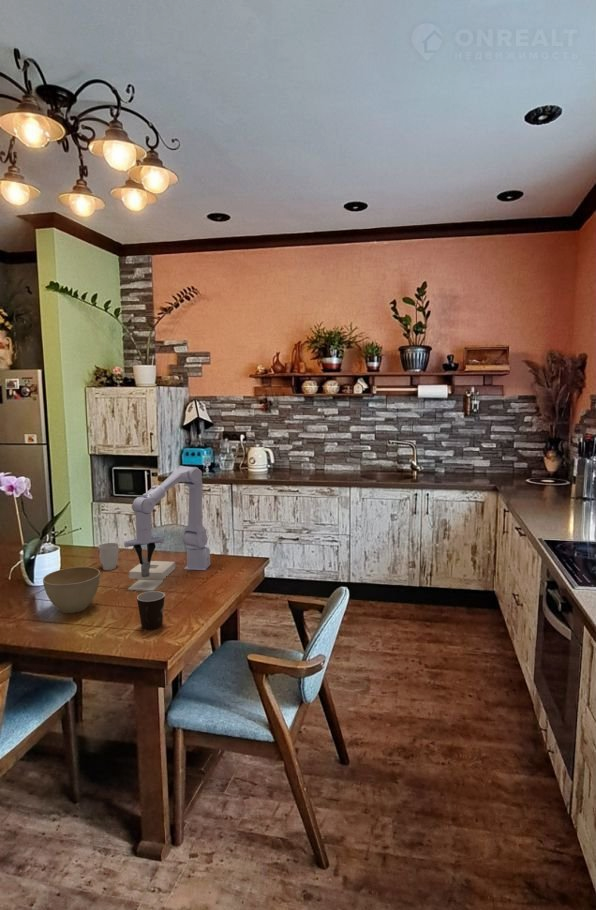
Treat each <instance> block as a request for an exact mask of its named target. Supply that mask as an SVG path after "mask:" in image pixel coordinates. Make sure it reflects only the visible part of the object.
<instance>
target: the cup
mask: <svg viewBox="0 0 596 910" xmlns="http://www.w3.org/2000/svg"><path fill="white" fill-rule="evenodd" d="M97 547H98V549H97V550H98V556H99V560H100V565H101V568H102V570H103V571H112V569H113V570H115V569H116V568H117V564H118V558H119V543H117V542H106V543H101V544H99V545H98V546H97Z"/></svg>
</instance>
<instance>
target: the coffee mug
mask: <svg viewBox="0 0 596 910" xmlns="http://www.w3.org/2000/svg"><path fill="white" fill-rule="evenodd" d="M165 595H166V594H165V593H164V592H163V591H157V590H154V591H144V592H142V593H140V594H138V595H137V597H136V601H137V608H138V613H139V618H140V619H139V620H140V625H141V629H142V630H144V631H156V630H159V629H161V628H162V627H161V626H163V619H164V608H165V597H166V596H165ZM158 628H159V629H158ZM155 629H156V630H155Z"/></svg>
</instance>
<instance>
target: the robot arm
mask: <svg viewBox="0 0 596 910" xmlns="http://www.w3.org/2000/svg"><path fill="white" fill-rule="evenodd" d="M178 483H184V484H185V485H186V486H187V487H188V491H189V492H188V524H187V525H186V526H185V527H184V528H183V534H182V537H181V538H182V541H181V542H182V543H183V544H184V546H185V547H186V565H185V567H184V568H183V570H187V571H192V570H193V571H206V570H207V569H208V568H209V567H210V566H211V565H212V564H211V552H210V551H211V549H210V547H207V543H208V534H207V529H206V528H205V527H204V525H203V524H202V522H203V521H202V520H203V519H202V517H203V514H202V513H203V487H204V486H203V471H202V470H201V469H199V467H197V466H184V465H178V466H177V467H176V468H174V469H173V471H172V473H171V474H170V475H169V476H168V477H167V478H166V479H165V480H163V482H161V483H160V485H158V484H156V485H152V486H151V487H150V489H149V490H147V492H145V493H143V494H142V496H138V497H136V498H135V499H134V500H133V502H132V504H131V509H132V510H133V512H134V516H135V533H136V534H135V535H136V536H135V537H136V538H135V539H130V540H126V541H125V540H124V542H123V544H124V548H129V547H133V548H134V550H135V553H136V555H137V556H138V561H139V564H142V557H143V548H142V546H145V545H146V549H147V556H146V557H147V558H148V560H149V561H150V562H151V561H152V556H153V554H154V551H155V549H156V544H164V543H165V538H164V537H163V536H161V537H160V536H156V537H153V533H152V531H153V529H152V528H153V527H152V512H153V511H154V509H155V506H156V505H157V504H158V503H159V502H160V501H161V500H162V499H164V498H165V497H166V492H168V491H169V490H170V489H172V488H173V487H174V486H176V485H177V484H178Z"/></svg>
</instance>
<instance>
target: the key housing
mask: <svg viewBox="0 0 596 910" xmlns="http://www.w3.org/2000/svg"><path fill="white" fill-rule="evenodd" d="M175 569H176V562H175V561H163V560H161V561H160V560H151V562H150V569H149V575H150V576H148V577H142V576H141V564H140V563H138V564H137V565H136V566H135V567H133V568H132V569H130V570H129V571H128V574H129V575H128V578H129V579H132V580H160V581H164V580H165V579H166V578H167V577H168V576H169V575H170V574H171V573H173V572H174V570H175ZM166 576H167V577H166ZM164 578H165V579H164ZM163 579H164V580H163Z"/></svg>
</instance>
